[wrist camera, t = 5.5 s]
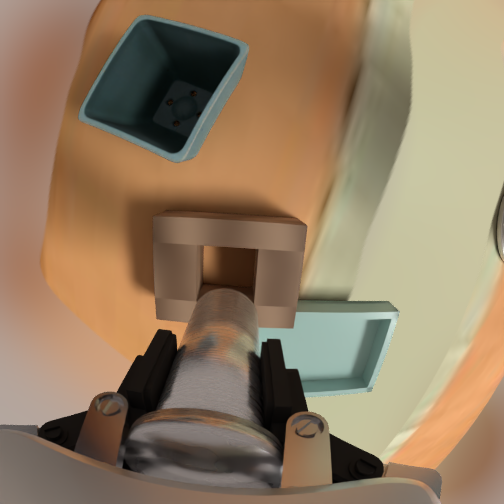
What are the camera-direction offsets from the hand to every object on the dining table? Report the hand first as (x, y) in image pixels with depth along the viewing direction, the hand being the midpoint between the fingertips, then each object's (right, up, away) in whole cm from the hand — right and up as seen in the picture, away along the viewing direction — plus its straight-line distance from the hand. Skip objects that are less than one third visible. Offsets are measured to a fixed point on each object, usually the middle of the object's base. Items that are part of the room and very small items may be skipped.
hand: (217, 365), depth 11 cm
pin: (0, +1, +4) cm, 4 cm away
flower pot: (-5, +18, +11) cm, 21 cm away
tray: (+9, -6, +17) cm, 20 cm away
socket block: (-1, +4, +15) cm, 15 cm away
